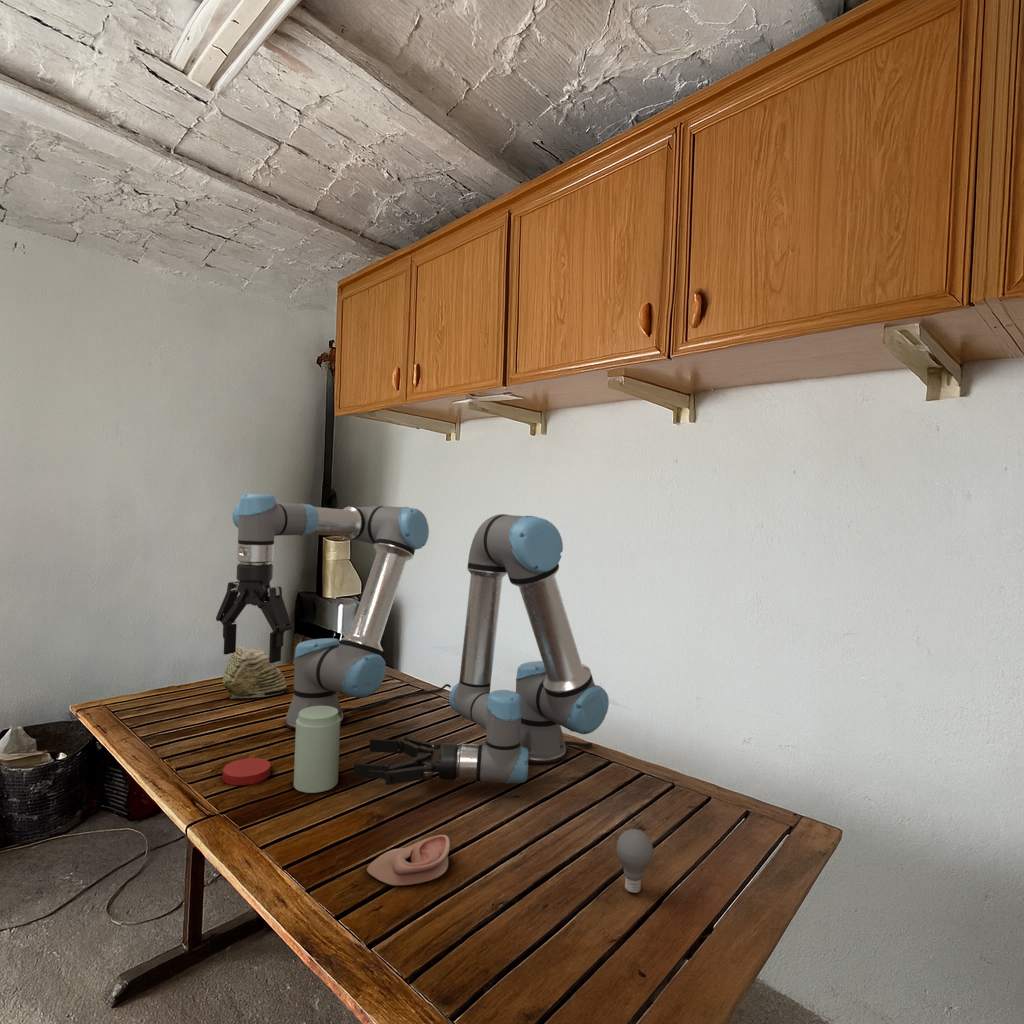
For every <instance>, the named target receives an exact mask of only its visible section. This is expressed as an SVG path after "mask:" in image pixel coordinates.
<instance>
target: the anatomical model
mask: <svg viewBox="0 0 1024 1024" xmlns="http://www.w3.org/2000/svg"><path fill="white" fill-rule="evenodd" d="M450 849H451V843H450V838H449V836H448V835H446V834H437V835H434V836H430V837H426V838H423V839H421V840H419V841H417V842H415V843H413V844H410V845H408V846H406V847H403V848H402V847H400V848H394V849H390V850H388V851H386V852H384V853H382V854H381V855H379V856H378V857H376V858H375V859H374V860H373V861H371V862H370V864H369V865H368V866H367V868H366V872H367V873H368V874H369V875H370V876H371V877H373V878H374V879H376V880H378V881H379V882H382V883H384V884H386V885H389V886H410V885H415V884H421V883H425V882H430V881H432V880H435V879H437V878H439V877H441V876H443V874H445V873H446V872H447V870H448V868H449V857H448V855H449V853H450Z"/></svg>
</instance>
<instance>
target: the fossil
mask: <svg viewBox="0 0 1024 1024" xmlns="http://www.w3.org/2000/svg"><path fill="white" fill-rule="evenodd" d="M222 676H223V677H222V685H223V687H224V688H225V690H226V691H228V693H229V698H230V699H250V698H264V697H271V696H275V695H281V694H284V693H285V691H286V689H287V687H288V686H287V680H286V678H285V676H284V674H283V673H282V672H281V669H279V668H278V667H277V665H276V662H274V663H269V654H267V653H266V652H265V650H264V649H263V648H260V647H258V648H251V647H247V646H246V647H245V646H238V647H236V652H235V653H231V656H230V657H229V659H228V660H227V663H226V666H225V668H224V671H223V675H222Z"/></svg>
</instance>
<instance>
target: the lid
mask: <svg viewBox="0 0 1024 1024" xmlns="http://www.w3.org/2000/svg"><path fill="white" fill-rule="evenodd" d="M271 773H272V766H271V762H270V761H269V760H267V759H264V758H259V757H249V758H248V757H247V758H240V759H237V760H233V761H231V762H229V763H227V764H225V765H224V767H223V768H222V775H221V777H222V781H223V782H224V783H225V784H226V785H227V784H228V785H231V786H249V785H254V784H257V783H260V782H263V781H264V780H267V779H268V778H269V777H270V775H271Z"/></svg>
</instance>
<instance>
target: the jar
mask: <svg viewBox="0 0 1024 1024" xmlns="http://www.w3.org/2000/svg"><path fill="white" fill-rule="evenodd" d="M298 716H299V718H297V720H296V731H295V737H294V738H295V739H294V762H293V763H294V765H293V788H294V789H295V790H297V791H298V792H302V793H309V794H316V793H322V792H326V791H329V790H332V789H333V788H335V787H336V786H337V785H338V782H339V761H340V735H341V724H340V717H339V716H338V710H337V709H336V708H334V707H331V706H312V707H307V708H304V709H302V710H301V711H300V712H299V714H298Z"/></svg>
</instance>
